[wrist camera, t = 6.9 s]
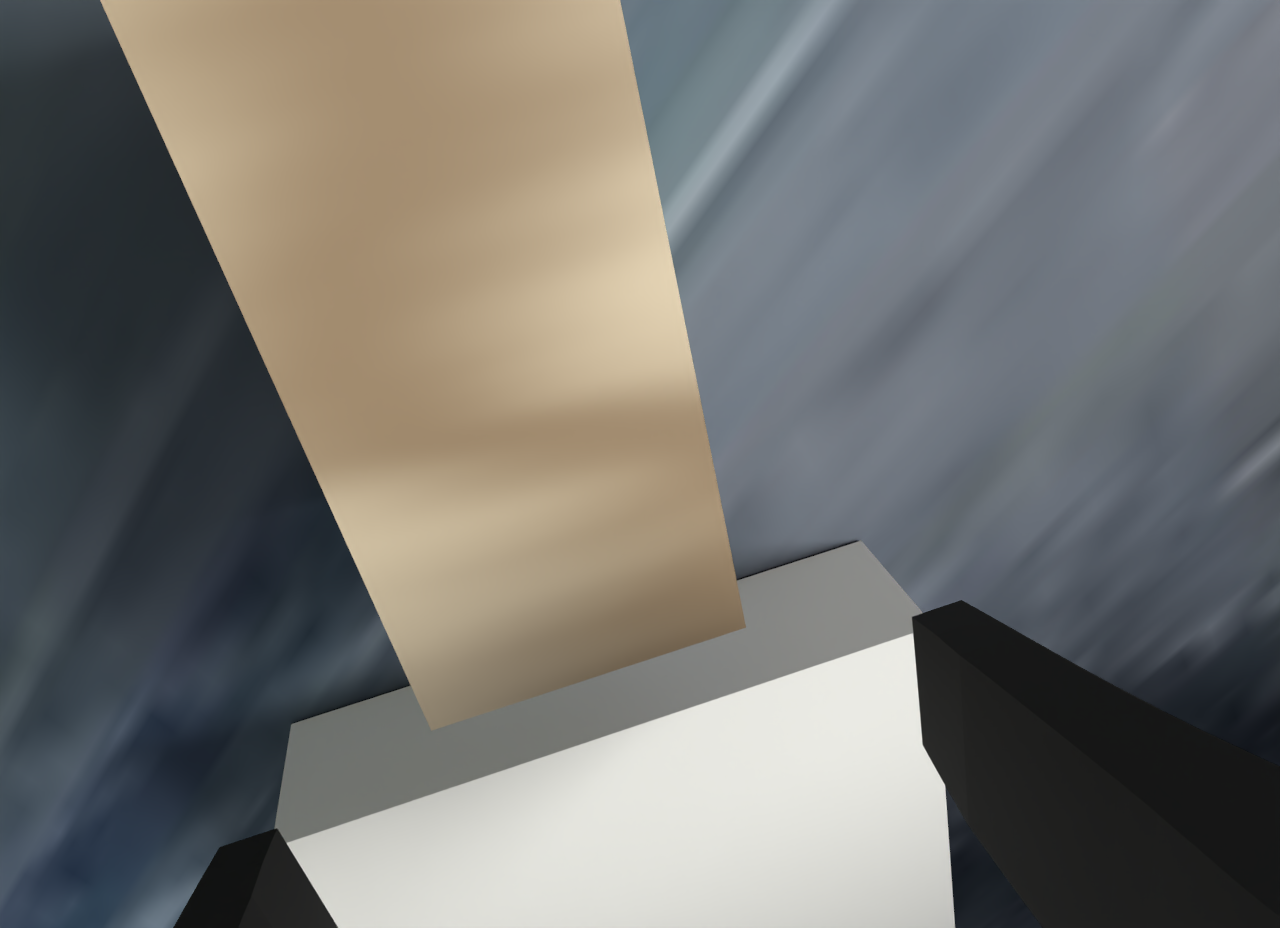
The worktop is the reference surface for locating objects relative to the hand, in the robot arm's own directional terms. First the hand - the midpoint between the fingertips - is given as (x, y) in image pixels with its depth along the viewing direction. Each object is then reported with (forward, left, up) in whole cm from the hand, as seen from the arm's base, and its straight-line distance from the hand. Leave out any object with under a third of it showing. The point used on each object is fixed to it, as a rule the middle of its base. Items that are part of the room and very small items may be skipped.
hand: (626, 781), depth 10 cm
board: (0, +7, -5) cm, 9 cm away
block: (0, -2, -2) cm, 3 cm away
